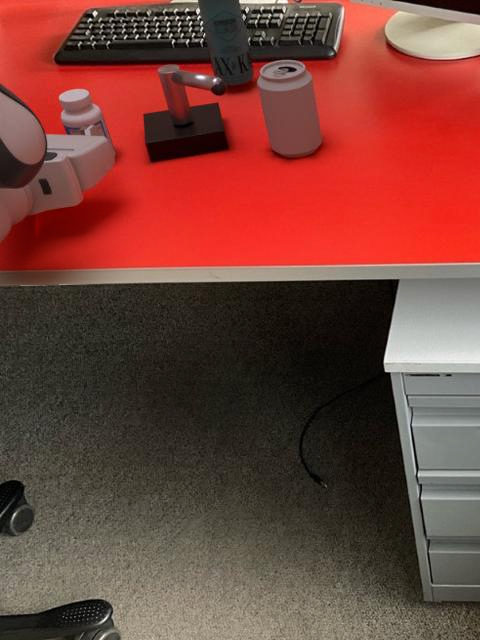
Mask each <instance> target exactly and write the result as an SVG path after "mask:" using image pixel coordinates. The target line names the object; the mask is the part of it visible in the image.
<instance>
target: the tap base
mask: <svg viewBox="0 0 480 640" xmlns="http://www.w3.org/2000/svg"><path fill="white" fill-rule="evenodd" d="M190 109H191V112H192V116H193V120H192V122H190V123H188V124H184V125H175V124H173V123H172V120H171V117H170V113H169V110H168V109H166V110H159V111H152V112H146V113H142V117H143V130H144V144H145V147H146V151H147V154H148V157H149V159H150V163H155V162H162V161H168V160H173V159H179V158H185V157H192V156H197V155H205V154H209V153H216V152H221V151H227V150H230V146H229V142H228V138H227V133H226V129H225V124H224V119H223V116H222V111H221V107H220V104H219V102H211V103H205V104H198V105H192V106H191V105H190Z"/></svg>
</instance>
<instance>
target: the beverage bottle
mask: <svg viewBox="0 0 480 640" xmlns="http://www.w3.org/2000/svg"><path fill="white" fill-rule="evenodd" d="M197 3H198V6H199V12H200V17H201V21H202V27H203V29H202V31H203V32H204V37H205V41H206V47H207V52H208V56H209V61H210V65H211V69H212V70H211V71H212V72H213V76H215V77H219V78H220V79H221V80H222V81H224V82H225V84H226V86H237V85H242V84H245V83H248V82H250V81H251V80H252V79H253V78H254V73H255V68H254V62H253V57H252V52H251V48H250V44H249V40H248V39H249V38H248V35H247V33H248V31H247V30H246V26H245V23H246V22H245V20H244V17H243V13H242V7H241V3H240V0H197Z"/></svg>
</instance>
